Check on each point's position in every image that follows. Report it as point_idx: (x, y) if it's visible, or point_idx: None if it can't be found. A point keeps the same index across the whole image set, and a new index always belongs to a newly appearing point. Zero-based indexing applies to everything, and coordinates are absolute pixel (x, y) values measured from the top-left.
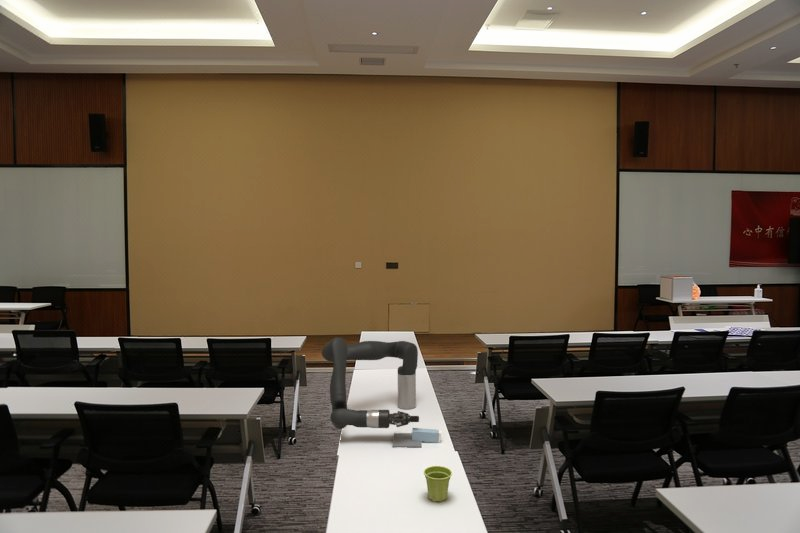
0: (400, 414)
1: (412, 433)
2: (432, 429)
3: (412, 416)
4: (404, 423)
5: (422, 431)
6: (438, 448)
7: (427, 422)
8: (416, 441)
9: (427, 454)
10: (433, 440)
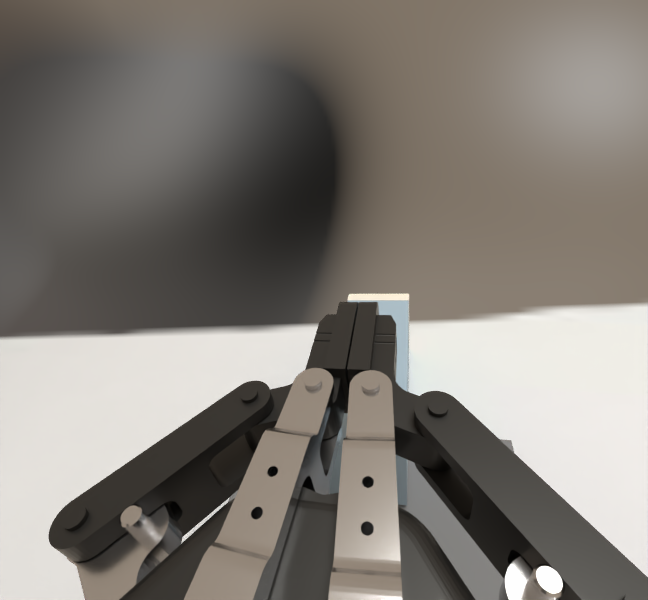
0: (285, 495)
1: (405, 464)
2: None
3: (353, 347)
4: (461, 490)
5: (396, 376)
6: (496, 354)
7: (93, 377)
8: (413, 469)
9: (629, 419)
10: (408, 360)
